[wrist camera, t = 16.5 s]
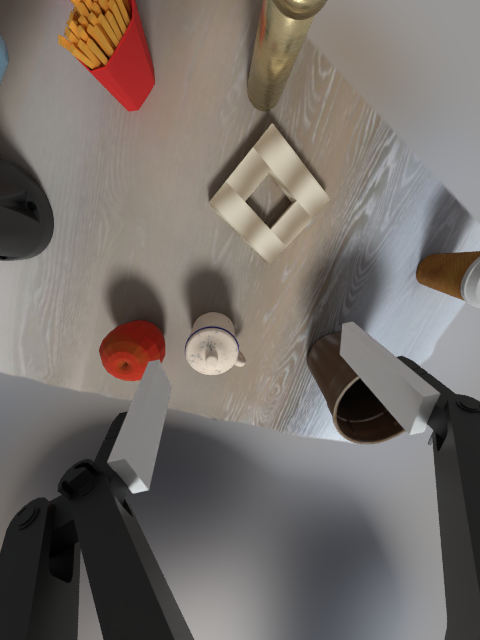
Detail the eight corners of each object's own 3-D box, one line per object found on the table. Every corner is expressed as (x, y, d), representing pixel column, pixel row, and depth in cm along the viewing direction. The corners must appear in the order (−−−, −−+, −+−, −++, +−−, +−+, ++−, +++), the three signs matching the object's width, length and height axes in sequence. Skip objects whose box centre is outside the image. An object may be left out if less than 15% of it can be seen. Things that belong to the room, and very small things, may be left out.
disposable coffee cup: (426, 301, 46) (492, 320, 35) (398, 276, 43) (461, 289, 32) (462, 263, 44) (546, 271, 32) (435, 234, 41) (517, 233, 30)
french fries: (139, 42, 28) (87, -86, 17) (164, 71, 29) (130, -31, 18) (104, 101, 30) (36, 20, 19) (129, 126, 31) (79, 63, 20)
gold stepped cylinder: (235, 88, 31) (251, -62, 15) (264, 48, 30) (313, -158, 14) (264, 125, 33) (303, 24, 17) (292, 89, 31) (363, -55, 16)
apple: (107, 334, 42) (69, 367, 31) (143, 302, 41) (115, 325, 30) (147, 367, 45) (125, 406, 35) (181, 338, 44) (169, 370, 33)
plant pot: (348, 307, 45) (413, 342, 30) (378, 358, 50) (445, 409, 35) (284, 351, 47) (315, 404, 32) (319, 395, 53) (359, 458, 38)
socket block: (209, 204, 36) (208, 202, 33) (268, 131, 33) (272, 122, 31) (267, 262, 40) (269, 264, 38) (323, 202, 37) (330, 199, 35)
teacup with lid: (182, 336, 44) (170, 368, 33) (207, 301, 42) (203, 323, 31) (229, 364, 47) (232, 401, 36) (255, 333, 45) (266, 363, 34)
